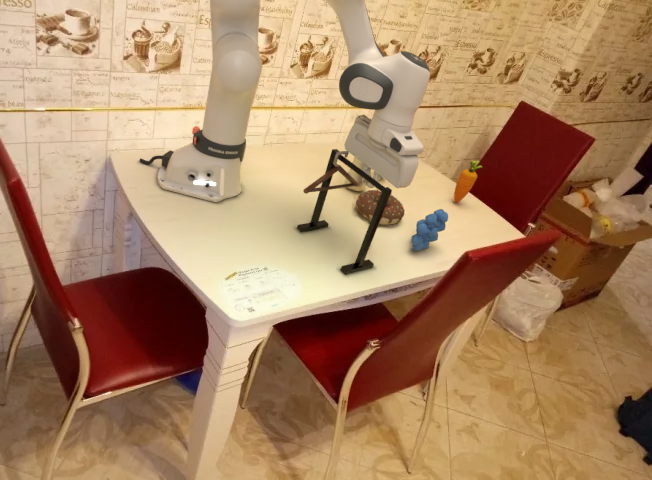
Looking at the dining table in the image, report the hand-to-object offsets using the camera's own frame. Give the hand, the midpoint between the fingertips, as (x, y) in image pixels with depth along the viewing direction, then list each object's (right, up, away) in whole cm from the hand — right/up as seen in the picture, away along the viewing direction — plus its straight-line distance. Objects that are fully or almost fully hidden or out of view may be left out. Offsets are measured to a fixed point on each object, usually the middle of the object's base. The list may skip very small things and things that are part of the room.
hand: (367, 185), depth 124 cm
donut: (+6, -4, +24) cm, 25 cm away
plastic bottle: (+2, +5, +34) cm, 35 cm away
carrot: (+36, +2, +42) cm, 55 cm away
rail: (-8, -15, +5) cm, 17 cm away
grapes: (+16, -14, +15) cm, 26 cm away
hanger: (-9, -1, +1) cm, 9 cm away
